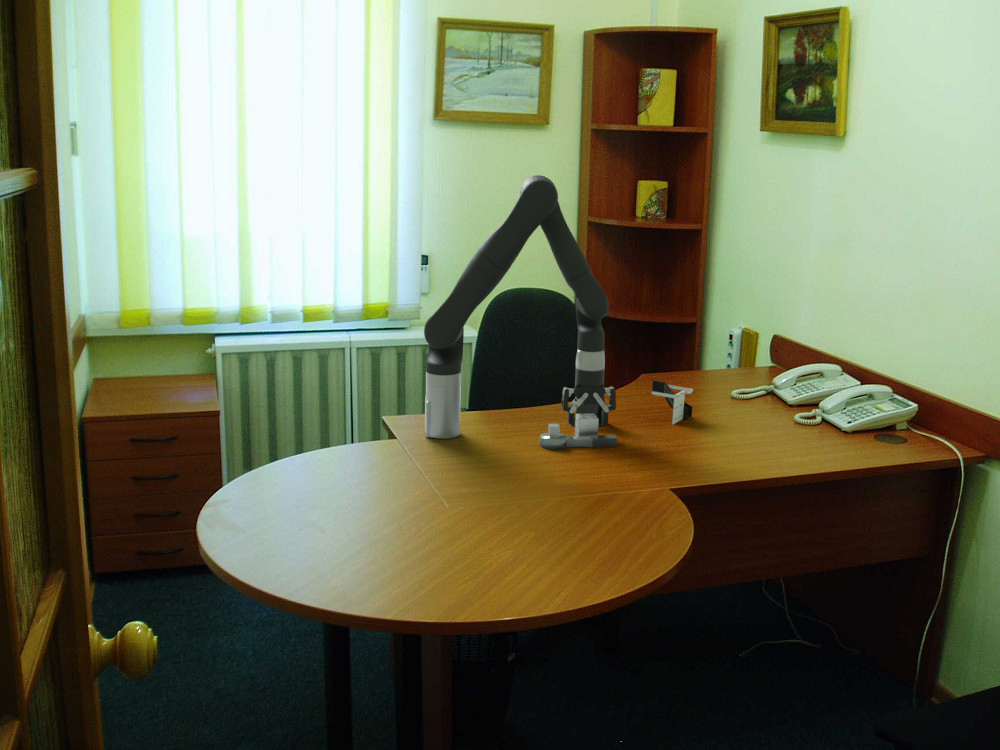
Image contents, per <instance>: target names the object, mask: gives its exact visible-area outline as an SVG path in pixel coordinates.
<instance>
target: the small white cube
mask: <svg viewBox="0 0 1000 750" xmlns="http://www.w3.org/2000/svg"><path fill="white" fill-rule="evenodd" d="M575 414H576V413H575ZM574 418H575V417H574ZM598 422H599V419H598V418H597V416H596V415H595V414H576V418H575V426H574V436H590V435H599V427H598Z"/></svg>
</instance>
